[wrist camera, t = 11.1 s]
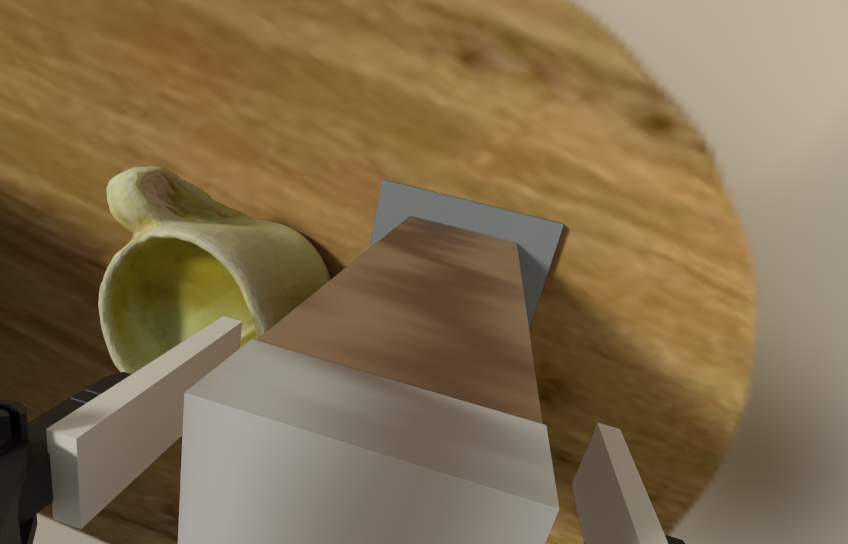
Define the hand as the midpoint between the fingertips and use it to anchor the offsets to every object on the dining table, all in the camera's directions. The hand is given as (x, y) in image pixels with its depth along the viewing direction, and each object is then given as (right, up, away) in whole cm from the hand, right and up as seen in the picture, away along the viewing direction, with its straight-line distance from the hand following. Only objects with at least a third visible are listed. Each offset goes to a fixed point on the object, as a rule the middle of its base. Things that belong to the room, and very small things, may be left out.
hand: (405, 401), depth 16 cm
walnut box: (+2, +3, +10) cm, 10 cm away
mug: (-10, +6, +12) cm, 16 cm away
